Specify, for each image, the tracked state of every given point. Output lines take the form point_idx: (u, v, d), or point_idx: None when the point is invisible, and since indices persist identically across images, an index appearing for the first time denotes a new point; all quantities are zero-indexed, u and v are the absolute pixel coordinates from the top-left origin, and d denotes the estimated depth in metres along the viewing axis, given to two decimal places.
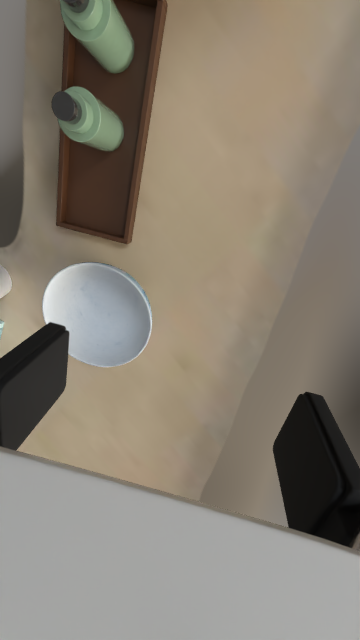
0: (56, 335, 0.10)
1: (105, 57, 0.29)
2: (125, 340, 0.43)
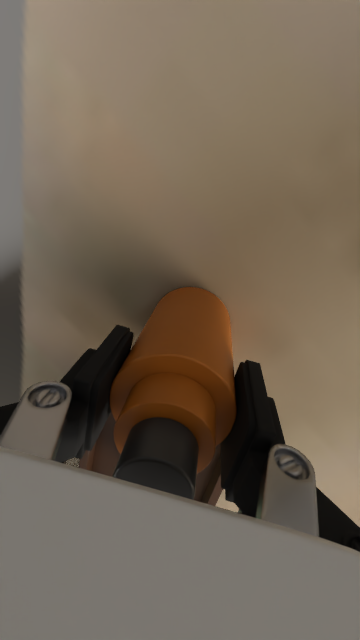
0: (125, 337, 0.11)
1: None
2: None
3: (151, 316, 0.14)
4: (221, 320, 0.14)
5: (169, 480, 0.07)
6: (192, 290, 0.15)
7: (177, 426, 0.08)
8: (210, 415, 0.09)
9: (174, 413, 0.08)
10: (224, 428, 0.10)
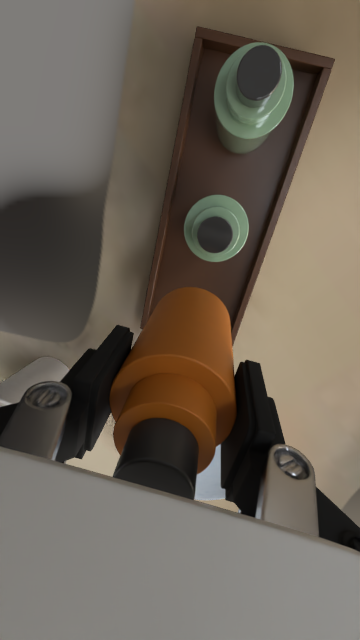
0: (125, 337, 0.11)
1: (249, 146, 0.21)
2: (214, 457, 0.35)
3: (151, 316, 0.14)
4: (221, 320, 0.13)
5: (169, 482, 0.07)
6: (192, 290, 0.15)
7: (177, 426, 0.08)
8: (210, 416, 0.09)
9: (174, 414, 0.08)
10: (224, 429, 0.10)
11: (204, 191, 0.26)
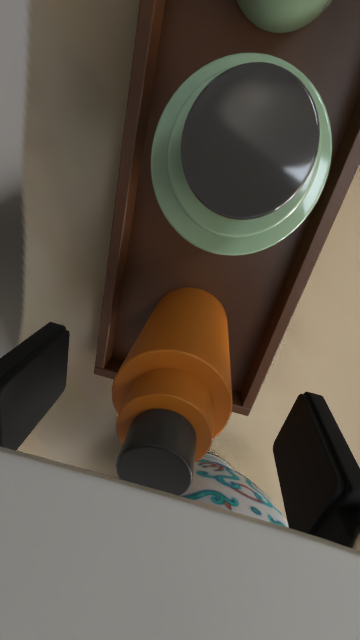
0: (56, 335, 0.10)
1: None
2: None
3: (151, 315, 0.15)
4: (218, 318, 0.14)
5: (168, 465, 0.08)
6: (190, 290, 0.16)
7: (176, 416, 0.09)
8: (207, 407, 0.09)
9: (173, 404, 0.09)
10: (221, 420, 0.11)
11: None
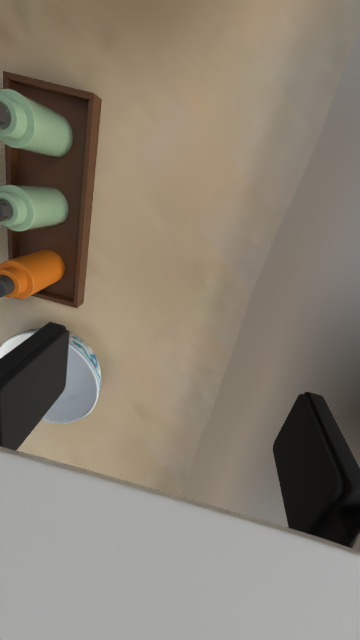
0: (56, 335, 0.10)
1: (40, 152, 0.30)
2: (80, 394, 0.45)
3: None
4: (48, 259, 0.37)
5: None
6: (44, 250, 0.38)
7: (6, 276, 0.31)
8: (18, 276, 0.32)
9: (5, 273, 0.31)
10: (31, 286, 0.33)
11: (38, 184, 0.36)
